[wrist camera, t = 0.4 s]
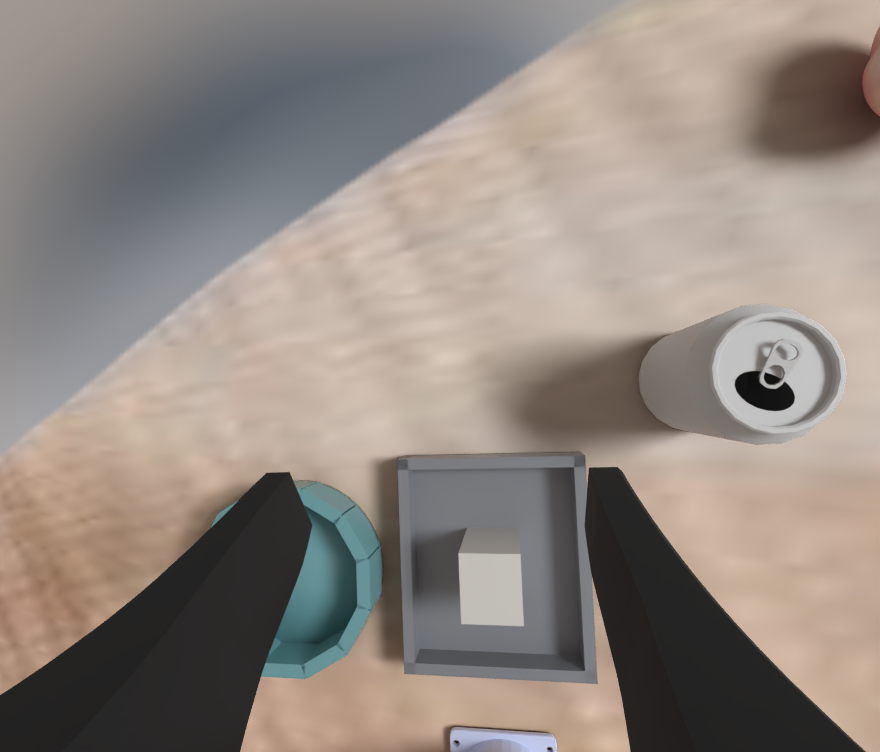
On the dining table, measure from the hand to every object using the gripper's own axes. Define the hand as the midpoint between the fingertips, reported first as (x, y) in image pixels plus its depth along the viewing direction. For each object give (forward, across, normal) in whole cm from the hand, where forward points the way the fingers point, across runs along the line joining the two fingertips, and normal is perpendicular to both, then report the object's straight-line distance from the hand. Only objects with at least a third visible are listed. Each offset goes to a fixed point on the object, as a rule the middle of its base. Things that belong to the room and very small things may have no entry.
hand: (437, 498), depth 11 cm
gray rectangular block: (+14, 0, +23) cm, 27 cm away
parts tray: (+14, 0, +24) cm, 28 cm away
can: (+22, -15, +13) cm, 30 cm away
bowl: (+14, +16, +24) cm, 32 cm away
